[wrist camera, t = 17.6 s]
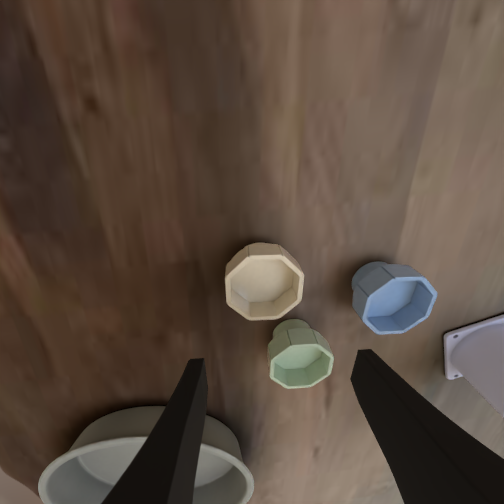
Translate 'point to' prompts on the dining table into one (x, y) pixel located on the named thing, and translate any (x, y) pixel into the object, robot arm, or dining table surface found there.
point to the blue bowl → (391, 297)
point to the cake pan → (125, 449)
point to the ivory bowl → (263, 282)
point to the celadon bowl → (298, 355)
